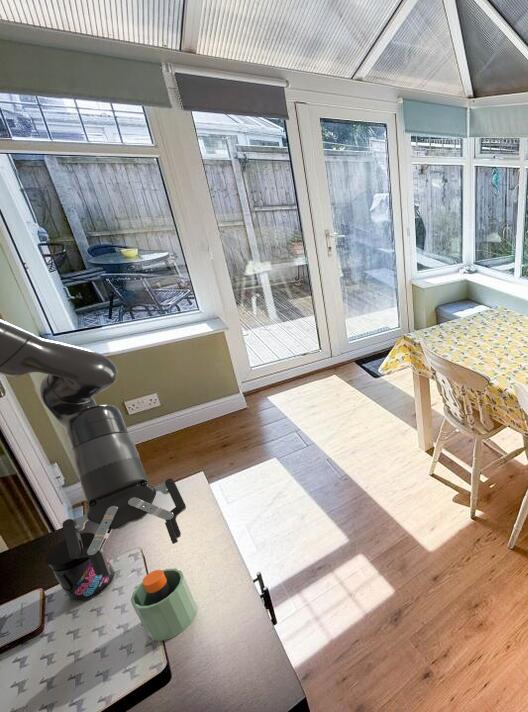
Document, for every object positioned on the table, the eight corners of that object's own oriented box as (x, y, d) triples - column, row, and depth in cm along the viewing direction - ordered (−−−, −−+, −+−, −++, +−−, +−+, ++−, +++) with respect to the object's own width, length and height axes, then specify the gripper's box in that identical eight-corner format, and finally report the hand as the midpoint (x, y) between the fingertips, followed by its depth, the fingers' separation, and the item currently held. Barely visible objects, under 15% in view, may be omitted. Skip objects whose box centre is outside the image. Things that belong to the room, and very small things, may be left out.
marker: (160, 628, 72) (140, 588, 68) (164, 613, 75) (144, 573, 70) (180, 621, 73) (161, 581, 69) (183, 607, 76) (165, 567, 71)
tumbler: (143, 648, 70) (125, 615, 66) (154, 610, 76) (137, 577, 72) (193, 629, 73) (178, 597, 69) (199, 594, 79) (186, 562, 75)
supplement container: (69, 611, 75) (44, 572, 71) (67, 585, 79) (44, 547, 75) (118, 586, 79) (98, 548, 75) (114, 562, 84) (95, 526, 79)
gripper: (42, 485, 61) (76, 589, 59) (161, 442, 71) (195, 531, 68) (55, 492, 67) (87, 587, 64) (165, 451, 76) (196, 534, 74)
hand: (142, 558), depth 66 cm, fingers open, 8 cm apart
